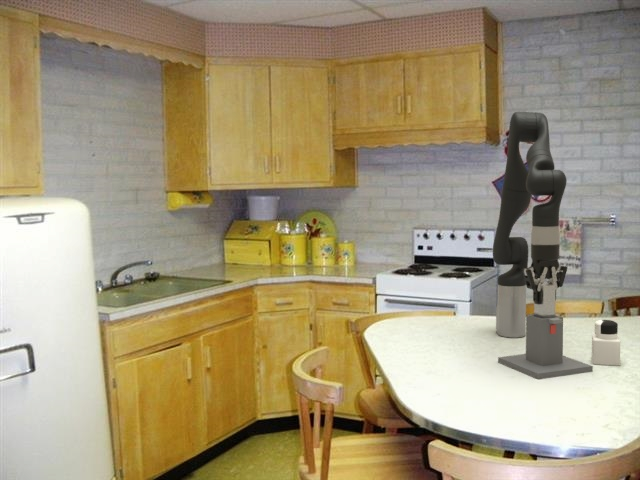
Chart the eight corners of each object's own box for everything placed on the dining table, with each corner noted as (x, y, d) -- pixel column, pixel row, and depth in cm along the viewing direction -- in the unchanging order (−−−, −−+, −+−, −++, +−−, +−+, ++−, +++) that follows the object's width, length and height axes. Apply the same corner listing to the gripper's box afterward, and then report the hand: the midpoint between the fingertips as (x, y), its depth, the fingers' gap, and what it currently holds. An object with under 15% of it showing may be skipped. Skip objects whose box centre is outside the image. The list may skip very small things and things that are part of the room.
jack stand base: (498, 362, 197) (498, 313, 196) (549, 355, 203) (549, 307, 202) (538, 379, 180) (538, 325, 179) (592, 371, 186) (593, 319, 185)
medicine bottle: (617, 359, 197) (618, 319, 196) (620, 366, 191) (620, 324, 190) (591, 358, 200) (592, 317, 199) (592, 364, 193) (593, 322, 192)
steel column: (533, 348, 192) (534, 284, 191) (545, 347, 194) (546, 282, 192) (542, 352, 188) (543, 286, 187) (555, 350, 190) (555, 284, 188)
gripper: (557, 239, 194) (556, 299, 196) (515, 242, 189) (514, 303, 191) (575, 242, 187) (574, 303, 189) (532, 244, 182) (531, 307, 184)
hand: (544, 303), depth 190 cm, fingers closed on steel column, 4 cm apart
